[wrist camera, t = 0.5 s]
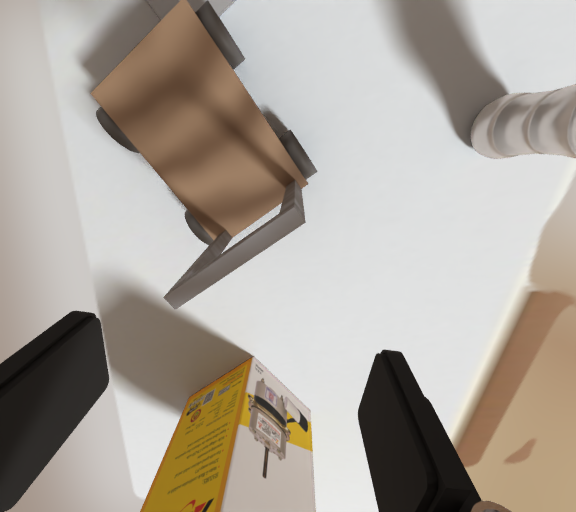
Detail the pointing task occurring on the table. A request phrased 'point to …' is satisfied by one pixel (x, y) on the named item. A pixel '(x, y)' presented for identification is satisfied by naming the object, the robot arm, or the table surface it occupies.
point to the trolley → (205, 141)
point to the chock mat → (163, 3)
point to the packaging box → (238, 449)
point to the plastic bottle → (527, 125)
